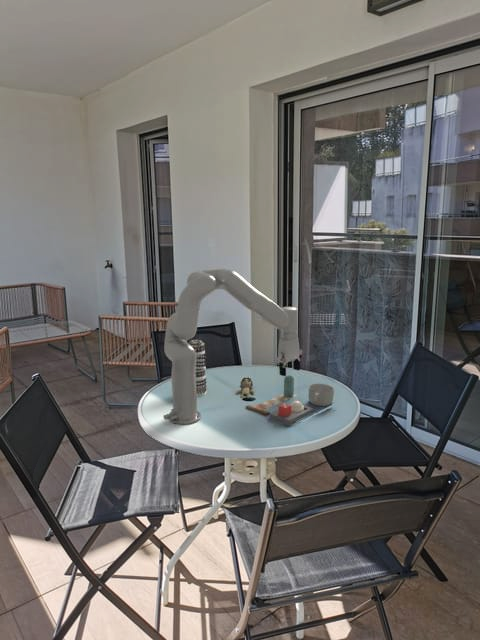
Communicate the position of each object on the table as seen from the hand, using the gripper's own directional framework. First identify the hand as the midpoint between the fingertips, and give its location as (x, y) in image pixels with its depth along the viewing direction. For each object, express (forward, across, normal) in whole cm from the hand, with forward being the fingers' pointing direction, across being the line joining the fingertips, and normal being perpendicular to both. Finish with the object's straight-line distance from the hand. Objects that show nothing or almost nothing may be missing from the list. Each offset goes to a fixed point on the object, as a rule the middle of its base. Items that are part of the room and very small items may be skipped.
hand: (289, 372), depth 212 cm
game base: (+11, +16, +14) cm, 24 cm away
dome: (+11, +13, +14) cm, 22 cm away
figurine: (+12, +10, -17) cm, 23 cm away
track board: (+12, +10, 0) cm, 15 cm away
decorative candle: (+11, +24, -35) cm, 44 cm away
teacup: (+12, -1, +15) cm, 20 cm away
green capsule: (+10, +1, 0) cm, 11 cm away
